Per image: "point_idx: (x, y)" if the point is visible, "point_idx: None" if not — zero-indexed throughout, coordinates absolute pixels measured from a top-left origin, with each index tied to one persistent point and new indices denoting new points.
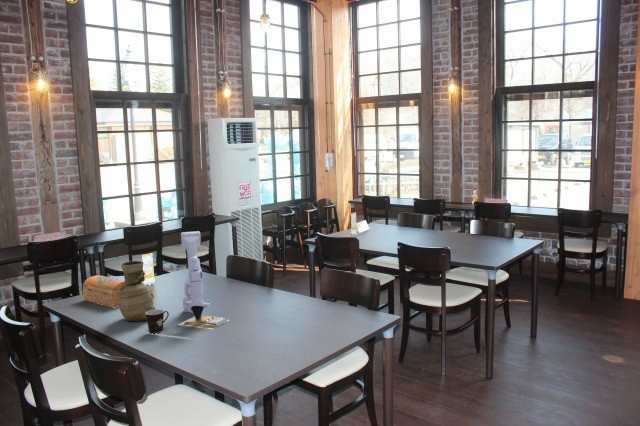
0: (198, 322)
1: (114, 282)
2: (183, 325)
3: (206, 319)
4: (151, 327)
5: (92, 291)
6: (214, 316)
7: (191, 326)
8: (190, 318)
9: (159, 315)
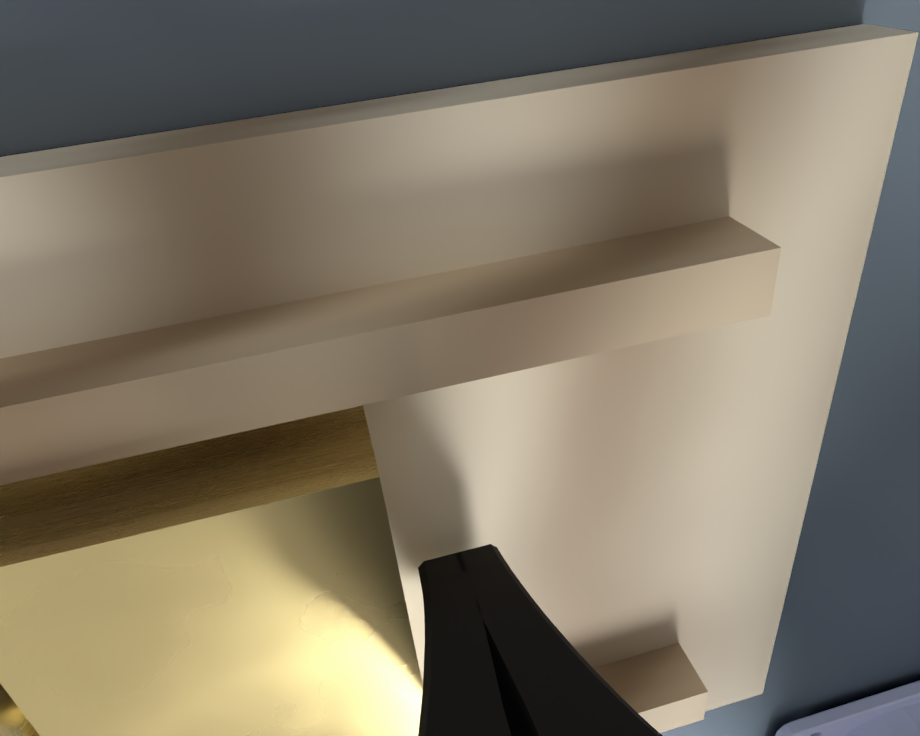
0: (213, 468)
1: None
2: (674, 82)
3: (71, 731)
4: None
5: None
6: None
7: (293, 147)
8: (786, 571)
9: None
